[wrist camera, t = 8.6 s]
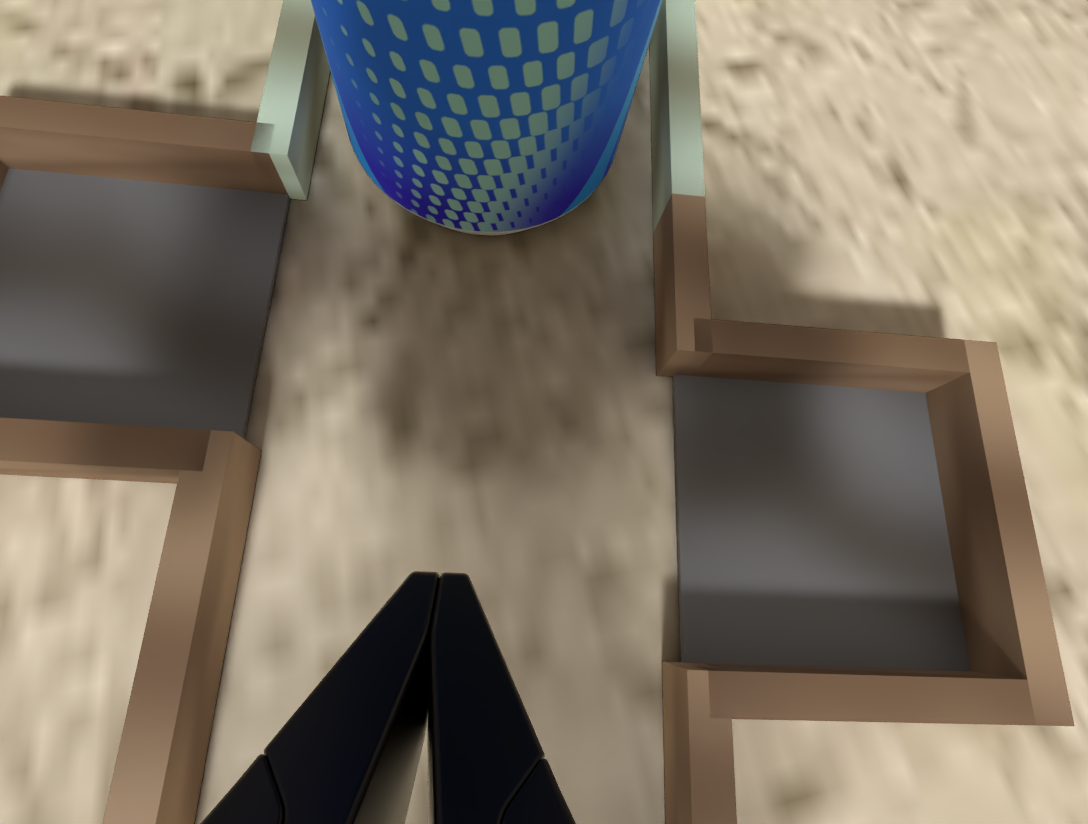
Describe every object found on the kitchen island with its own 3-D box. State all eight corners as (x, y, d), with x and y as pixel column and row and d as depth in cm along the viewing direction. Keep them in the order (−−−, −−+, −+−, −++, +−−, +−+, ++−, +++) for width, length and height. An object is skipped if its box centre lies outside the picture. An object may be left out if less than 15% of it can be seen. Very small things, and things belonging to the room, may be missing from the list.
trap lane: (1044, 935, 15) (1238, 1050, 11) (-319, 950, 12) (-678, 1109, 8) (889, 48, 23) (970, -59, 19) (62, -55, 21) (-32, -203, 17)
